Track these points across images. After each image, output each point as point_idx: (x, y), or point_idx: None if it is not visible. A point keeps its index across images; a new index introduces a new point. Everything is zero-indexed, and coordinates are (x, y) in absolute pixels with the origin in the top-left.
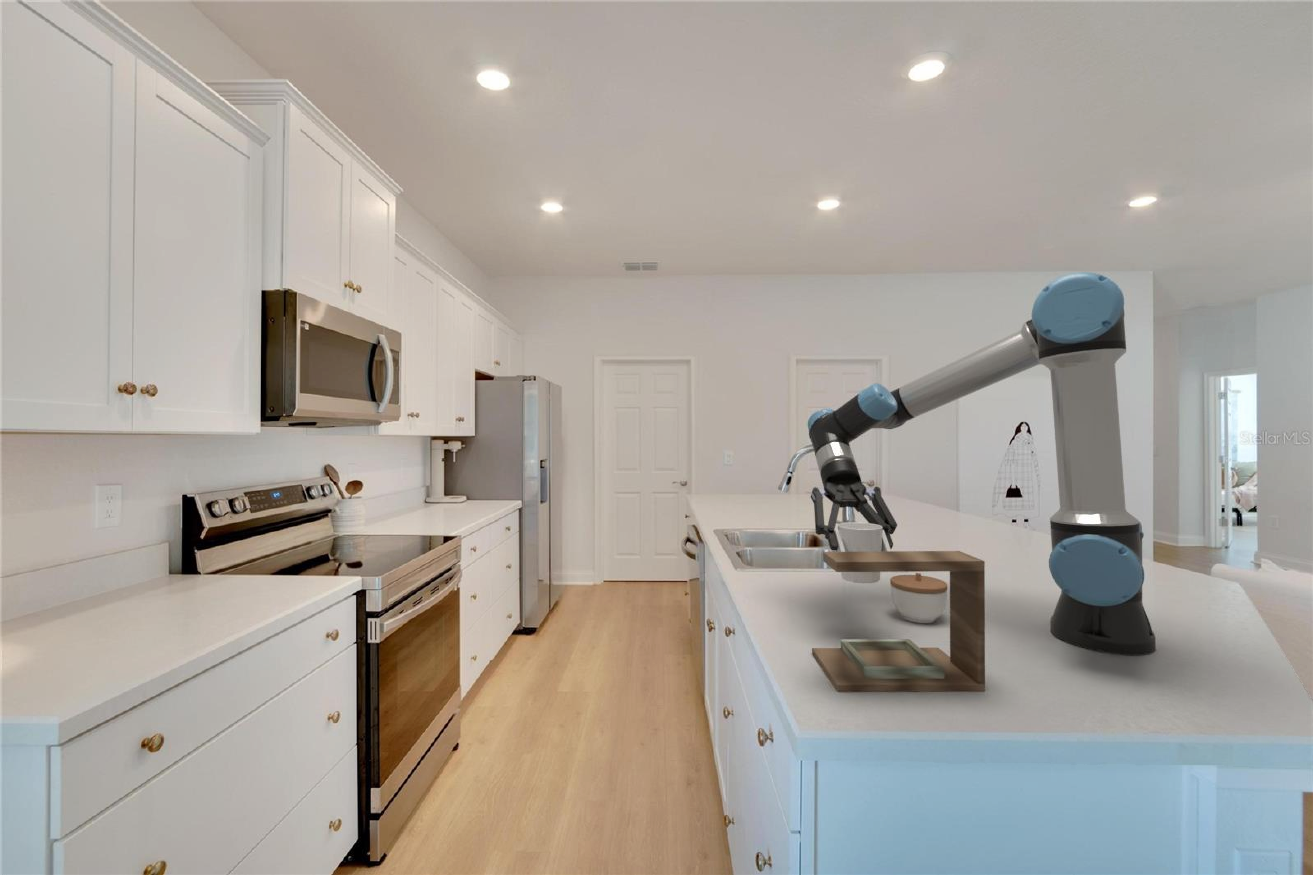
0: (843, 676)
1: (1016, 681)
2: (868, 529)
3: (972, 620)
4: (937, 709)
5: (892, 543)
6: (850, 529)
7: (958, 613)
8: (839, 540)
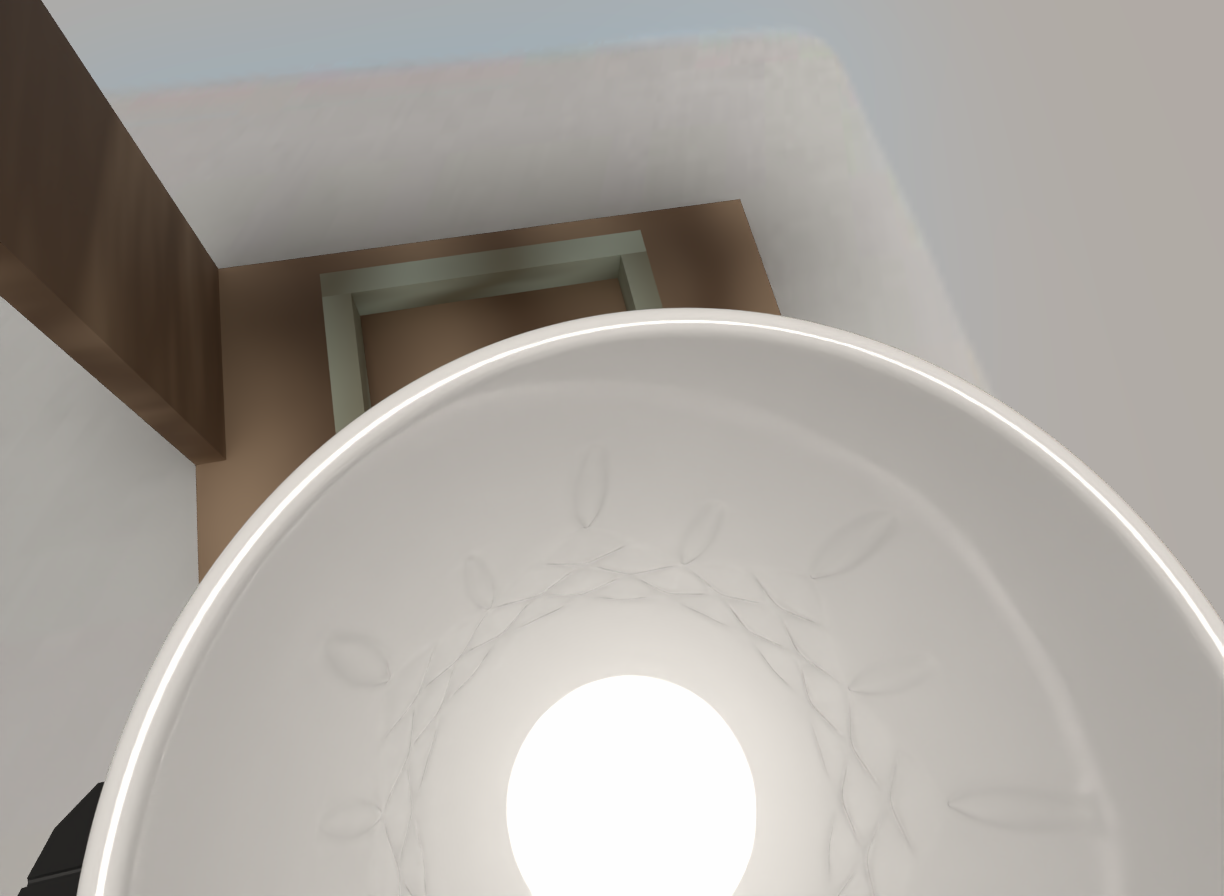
0: (716, 260)
1: (9, 388)
2: (587, 317)
3: (84, 110)
4: (433, 155)
5: (67, 831)
6: (953, 385)
7: (86, 233)
8: None
